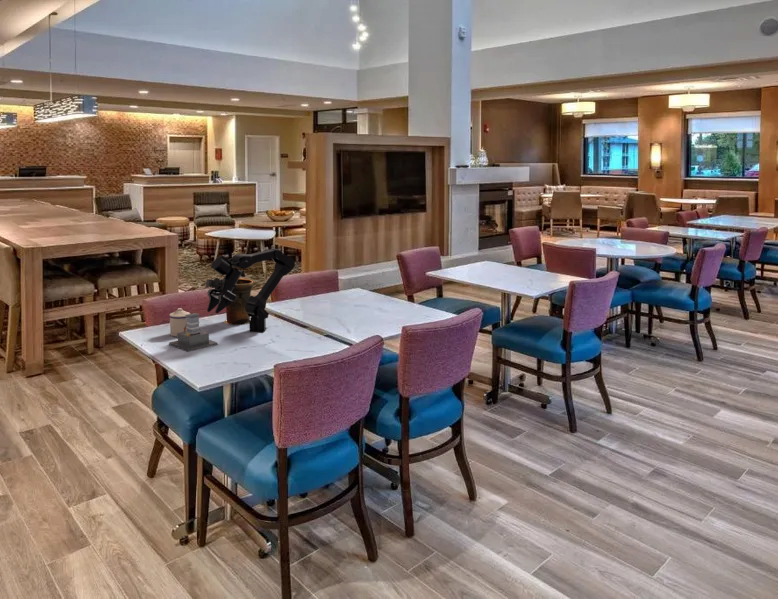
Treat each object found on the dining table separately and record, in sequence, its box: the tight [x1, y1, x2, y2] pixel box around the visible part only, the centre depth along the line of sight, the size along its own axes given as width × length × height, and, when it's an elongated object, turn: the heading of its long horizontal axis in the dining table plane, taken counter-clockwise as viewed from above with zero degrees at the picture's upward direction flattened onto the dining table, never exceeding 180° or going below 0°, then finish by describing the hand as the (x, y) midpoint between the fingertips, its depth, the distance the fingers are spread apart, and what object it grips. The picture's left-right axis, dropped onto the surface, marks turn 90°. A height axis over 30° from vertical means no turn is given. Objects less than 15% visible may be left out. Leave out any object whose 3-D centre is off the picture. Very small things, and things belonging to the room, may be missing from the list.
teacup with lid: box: [169, 307, 191, 338], centre depth 277 cm, size 12×9×12 cm
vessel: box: [223, 278, 254, 326], centre depth 299 cm, size 14×14×20 cm
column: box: [186, 312, 201, 335], centre depth 260 cm, size 5×4×12 cm
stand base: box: [168, 329, 219, 353], centre depth 261 cm, size 14×14×6 cm
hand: (212, 312), depth 266 cm, fingers open, 9 cm apart
